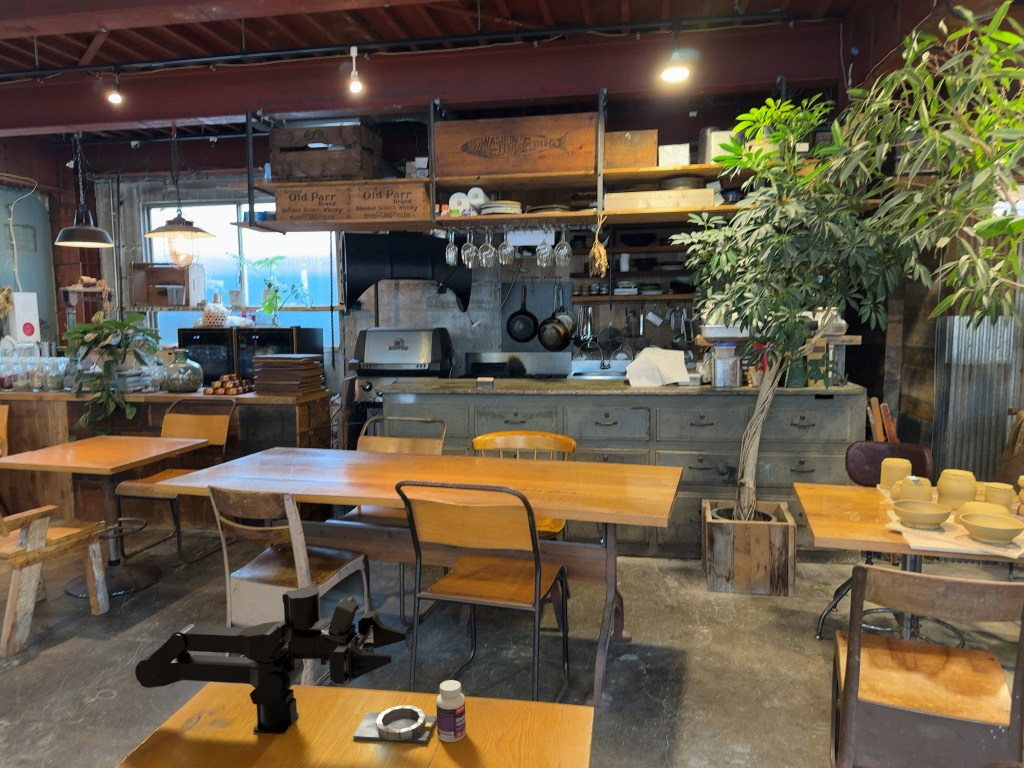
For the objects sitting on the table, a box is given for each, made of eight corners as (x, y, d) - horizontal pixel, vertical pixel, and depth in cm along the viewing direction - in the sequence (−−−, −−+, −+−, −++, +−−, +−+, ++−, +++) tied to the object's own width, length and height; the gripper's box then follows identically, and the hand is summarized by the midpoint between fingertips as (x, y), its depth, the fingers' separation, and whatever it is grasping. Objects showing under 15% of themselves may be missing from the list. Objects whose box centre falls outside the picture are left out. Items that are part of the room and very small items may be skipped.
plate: (353, 739, 127) (353, 735, 127) (368, 715, 135) (367, 711, 135) (426, 744, 125) (426, 740, 125) (436, 719, 133) (436, 715, 133)
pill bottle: (461, 744, 125) (460, 694, 124) (433, 741, 126) (431, 691, 125) (469, 727, 130) (467, 679, 130) (442, 725, 131) (440, 676, 131)
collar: (370, 738, 126) (369, 730, 126) (385, 711, 135) (385, 704, 135) (425, 742, 125) (425, 734, 125) (437, 714, 134) (437, 707, 134)
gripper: (296, 624, 121) (381, 627, 118) (337, 584, 139) (411, 587, 137) (299, 684, 121) (384, 689, 119) (339, 637, 140) (413, 641, 138)
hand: (399, 647), depth 128 cm, fingers open, 9 cm apart
